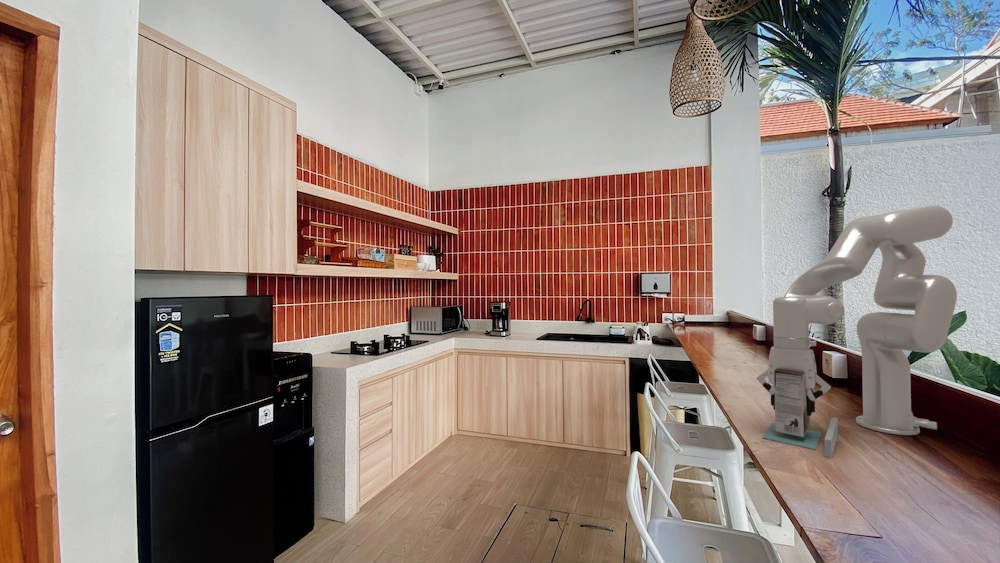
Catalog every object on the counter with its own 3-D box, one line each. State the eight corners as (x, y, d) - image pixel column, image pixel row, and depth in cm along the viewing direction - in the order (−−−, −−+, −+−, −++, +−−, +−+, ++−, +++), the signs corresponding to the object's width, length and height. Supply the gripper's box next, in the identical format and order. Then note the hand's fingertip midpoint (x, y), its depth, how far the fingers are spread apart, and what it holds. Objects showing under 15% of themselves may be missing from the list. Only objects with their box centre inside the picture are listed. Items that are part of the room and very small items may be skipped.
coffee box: (781, 422, 110) (780, 364, 110) (811, 428, 105) (809, 367, 105) (774, 431, 103) (772, 369, 103) (805, 438, 99) (803, 373, 99)
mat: (821, 433, 105) (821, 432, 105) (815, 450, 95) (815, 448, 95) (772, 423, 113) (772, 422, 113) (762, 438, 103) (762, 437, 103)
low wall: (838, 433, 106) (837, 418, 106) (831, 458, 91) (831, 440, 91) (832, 432, 106) (831, 417, 106) (824, 456, 92) (824, 439, 92)
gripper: (835, 345, 101) (836, 415, 101) (755, 339, 113) (757, 401, 113) (832, 349, 96) (834, 423, 96) (749, 342, 108) (751, 408, 108)
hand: (792, 410), depth 104 cm, fingers closed on coffee box, 6 cm apart
